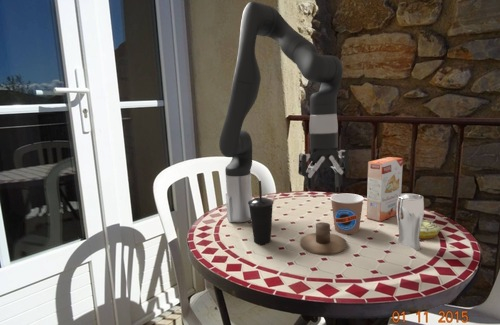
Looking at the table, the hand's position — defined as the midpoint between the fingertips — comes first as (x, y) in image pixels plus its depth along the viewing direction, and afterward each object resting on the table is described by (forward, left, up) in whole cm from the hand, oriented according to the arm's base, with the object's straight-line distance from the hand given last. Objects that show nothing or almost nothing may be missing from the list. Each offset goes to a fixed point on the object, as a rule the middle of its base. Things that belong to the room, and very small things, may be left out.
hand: (323, 188), depth 95 cm
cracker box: (+33, +18, -18) cm, 42 cm away
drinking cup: (-16, +9, -18) cm, 26 cm away
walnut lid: (0, 0, -17) cm, 17 cm away
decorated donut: (+33, 0, -18) cm, 38 cm away
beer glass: (+23, -7, -18) cm, 30 cm away
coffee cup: (+12, +8, -18) cm, 23 cm away
